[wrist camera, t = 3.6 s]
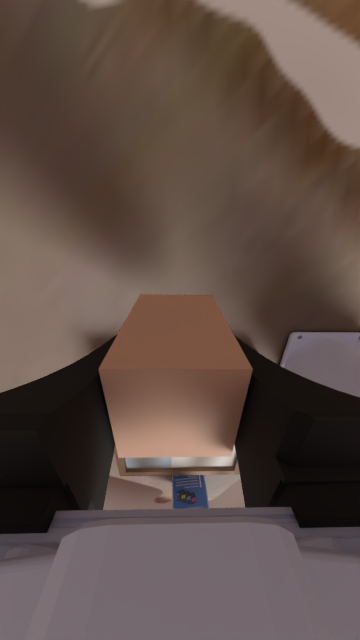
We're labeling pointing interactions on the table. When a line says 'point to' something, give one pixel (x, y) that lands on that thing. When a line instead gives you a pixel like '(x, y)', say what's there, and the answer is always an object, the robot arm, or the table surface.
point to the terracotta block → (175, 379)
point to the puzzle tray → (172, 471)
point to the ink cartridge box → (189, 492)
